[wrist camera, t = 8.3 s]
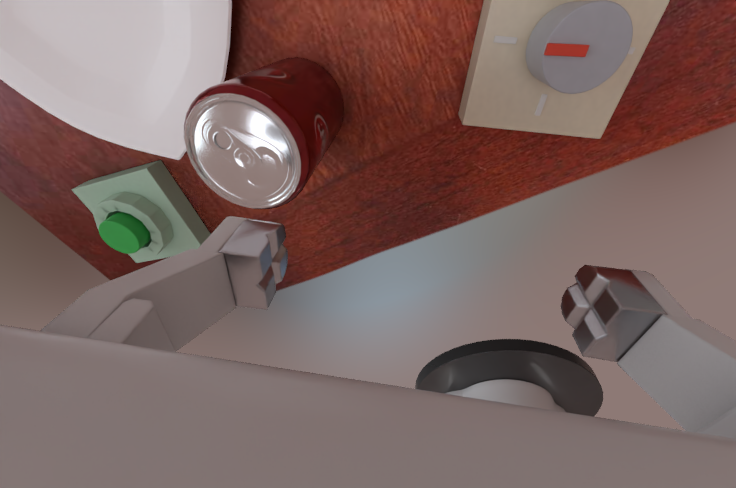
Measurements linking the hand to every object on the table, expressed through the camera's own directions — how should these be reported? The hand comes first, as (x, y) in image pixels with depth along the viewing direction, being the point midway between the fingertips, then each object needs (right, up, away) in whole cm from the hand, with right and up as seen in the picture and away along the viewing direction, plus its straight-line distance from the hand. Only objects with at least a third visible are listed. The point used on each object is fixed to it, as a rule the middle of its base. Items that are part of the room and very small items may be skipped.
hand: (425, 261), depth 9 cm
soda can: (-7, +12, +18) cm, 23 cm away
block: (-26, +4, +27) cm, 38 cm away
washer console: (+11, +15, +14) cm, 23 cm away
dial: (+11, +13, +11) cm, 20 cm away
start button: (-26, +2, +24) cm, 36 cm away
